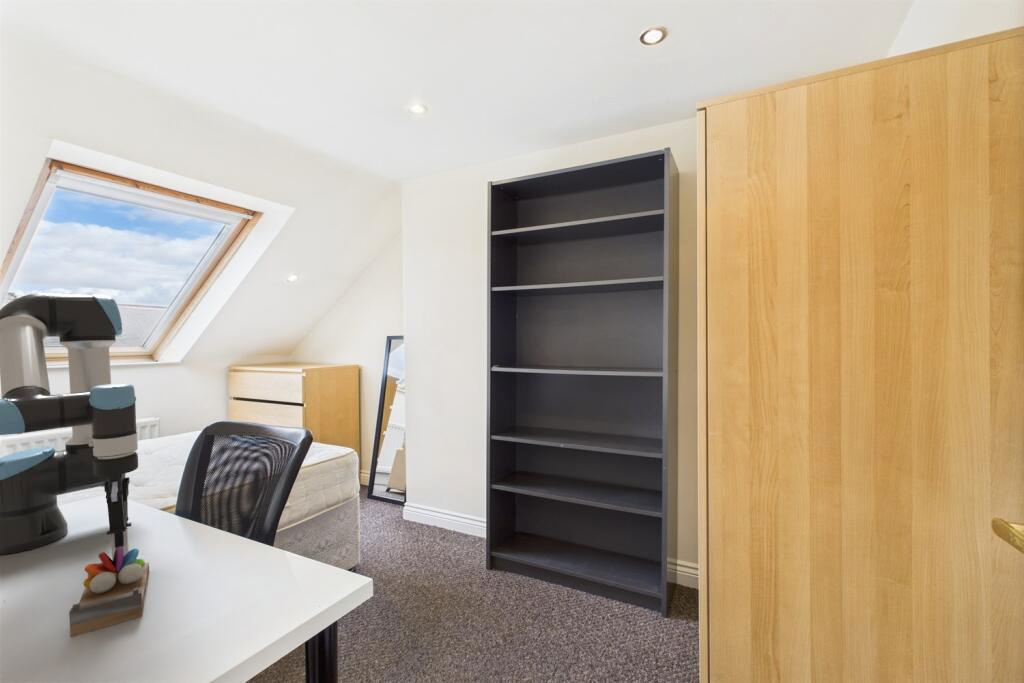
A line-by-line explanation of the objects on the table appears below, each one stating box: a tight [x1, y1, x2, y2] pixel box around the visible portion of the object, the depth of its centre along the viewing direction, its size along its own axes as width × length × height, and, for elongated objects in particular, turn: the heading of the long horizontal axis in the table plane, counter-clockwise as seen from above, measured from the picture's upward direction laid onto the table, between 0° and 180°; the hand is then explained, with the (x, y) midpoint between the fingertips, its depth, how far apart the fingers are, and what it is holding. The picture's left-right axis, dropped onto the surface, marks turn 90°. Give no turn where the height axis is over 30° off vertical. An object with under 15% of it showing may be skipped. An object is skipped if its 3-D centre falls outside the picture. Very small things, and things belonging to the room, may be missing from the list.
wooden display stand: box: [68, 562, 150, 638], centre depth 93 cm, size 20×10×5 cm, turn 35°
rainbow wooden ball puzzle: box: [83, 547, 146, 593], centre depth 96 cm, size 8×10×7 cm
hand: (120, 559), depth 103 cm, fingers closed
